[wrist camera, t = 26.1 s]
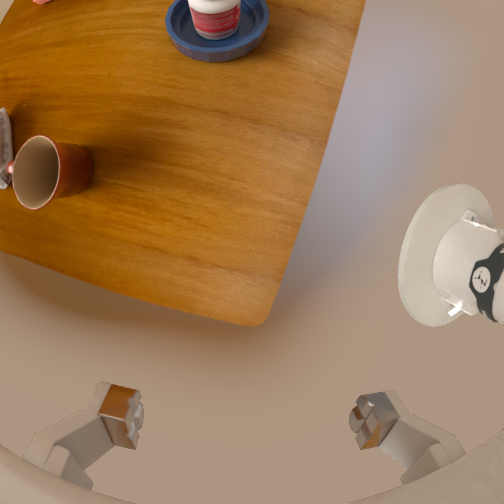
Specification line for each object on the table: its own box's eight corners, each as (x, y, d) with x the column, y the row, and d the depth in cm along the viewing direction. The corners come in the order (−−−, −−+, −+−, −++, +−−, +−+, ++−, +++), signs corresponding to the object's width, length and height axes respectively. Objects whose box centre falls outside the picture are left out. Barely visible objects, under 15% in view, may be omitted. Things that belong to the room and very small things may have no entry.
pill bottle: (245, 34, 28) (250, -10, 17) (202, 46, 28) (192, 4, 17) (231, 6, 26) (231, -39, 16) (190, 17, 26) (178, -26, 16)
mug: (106, 144, 31) (67, 137, 22) (94, 204, 34) (54, 216, 24) (47, 137, 30) (5, 133, 20) (37, 191, 32) (-5, 199, 22)
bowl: (269, 0, 27) (273, -14, 23) (260, 68, 30) (263, 57, 26) (181, -4, 25) (177, -18, 21) (163, 64, 29) (156, 53, 25)
